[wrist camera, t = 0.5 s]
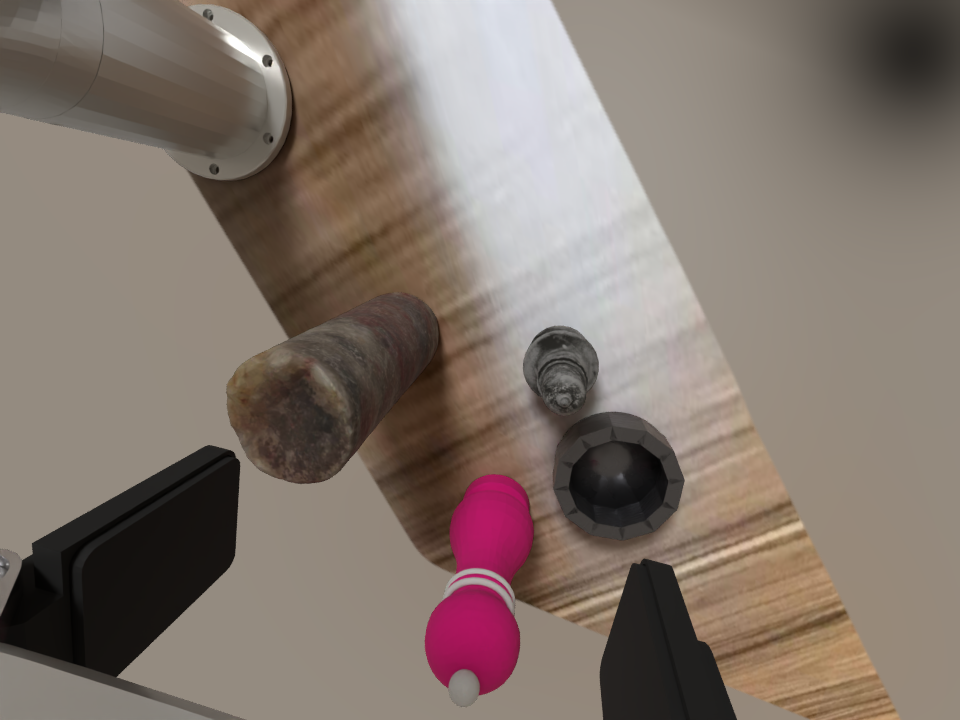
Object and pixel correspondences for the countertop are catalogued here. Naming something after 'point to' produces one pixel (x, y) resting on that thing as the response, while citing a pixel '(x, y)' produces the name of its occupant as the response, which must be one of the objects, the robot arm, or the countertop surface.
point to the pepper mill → (481, 591)
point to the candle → (329, 387)
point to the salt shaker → (561, 368)
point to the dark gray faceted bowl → (616, 476)
